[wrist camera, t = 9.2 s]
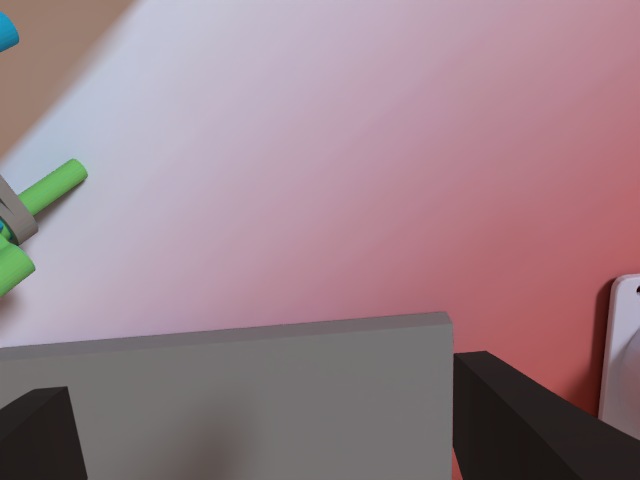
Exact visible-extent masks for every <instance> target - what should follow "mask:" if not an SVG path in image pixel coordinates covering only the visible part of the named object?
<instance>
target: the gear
mask: <svg viewBox="0 0 640 480" xmlns="http://www.w3.org/2000/svg"><path fill="white" fill-rule="evenodd" d="M18 42H19V36H18V32H17V30H16V28H15V26H14V25H13V23H12V22H11V20H10V19H9V18H8V17H7V16H6V15H5V14H4V13H2V12H0V52H2V51H4V50H6V49H8V48H10V47H12V46H14V45H16V44H18ZM87 177H88V174H87V171H86V169H85V168H84V166H83V165H82V164H81V163H80V162H79V161H77V160H76V159H71V160H69V161H68V162H67V163H65V164H64V165H62V166H61V167H59V168H58V169H56V170H55V171H53V172H52V173H50V174H49V175H47V176H46V177H44V178H43V179H41V180H40V181H39V182H37V183H36V184H34V185H33V186H31V187H30V188H28V189H27V190H25V191H24V192H22V193H21V194H19V195H18V196H17V195H16V194H15V193H14V191H13V190H12V189H11V188H10V186H9V185H8V184H7V183H6V181H5V180H4V179H3V177H2V176H1V175H0V298H1V297H2V296H3V295H4V294H6V293H7V292H8V291H10V290H11V289H12V288H13V287H15V286H16V285H17V284H18V283H20V282H21V281H22V280H24V279H25V278H26V277H27V276H29V275H30V274H31V273H33V272H34V271H35V266H34V264H33V262H32V261H31V259H30V258H29V257H28V256H27V255H26V254H25V253H24V252H23V251H22V250H21V249H20V248H19V247H18V246H19V245H20V244H22V243H23V242H24V241H26V240H27V239H28V238H30V237H31V236H33V235H34V234H35V233H37V232H38V226H37V223H36V221H35V219H34V217H33V216H34V215H35V214H37V213H38V212H40V211H41V210H42V209H44V208H45V207H47V206H48V205H49V204H51V203H52V202H53V201H55V200H56V199H58V198H59V197H60V196H62V195H63V194H65V193H66V192H67V191H69V190H70V189H72V188H73V187H74V186H76V185H77V184H79V183H80V182H81V181H83V180H84V179H86V178H87Z"/></svg>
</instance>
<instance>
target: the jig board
mask: <svg viewBox="0 0 640 480" xmlns="http://www.w3.org/2000/svg"><path fill="white" fill-rule="evenodd" d="M63 386H68V391H69V395H70V400H71V404H72V409H73V413H74V418H75V422H76V427H77V431H78V436H79V440H80V445H81V449H82V454H83V458H84V463H85V467H86V472H87V476H88V480H452V392H453V323H452V321H451V319H450V318H449V316H448V314H447V313H446V312H435V313H423V314H410V315H398V316H386V317H374V318H361V319H349V320H337V321H325V322H312V323H300V324H288V325H276V326H263V327H251V328H239V329H227V330H214V331H202V332H190V333H177V334H165V335H153V336H141V337H128V338H116V339H104V340H92V341H79V342H67V343H55V344H43V345H30V346H18V347H6V348H0V409H1V408H3V407H4V406H6V405H8V404H9V403H11V402H12V401H14V400H15V399H17V398H19V397H20V396H22V395H24V394H26V393H27V392H29V391H31V390H33V389H40V388H51V387H63Z"/></svg>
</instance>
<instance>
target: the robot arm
mask: <svg viewBox="0 0 640 480" xmlns="http://www.w3.org/2000/svg"><path fill="white" fill-rule="evenodd" d="M638 286H640V274H629V275H623V276H620V277H619V278H617V279H616V280H615V281H614V283H613V284H612V287H611V295H610V305H609V314H608V324H607V334H606V344H605V354H604V364H603V374H602V384H601V394H600V403H599V413H598V418H596V417H594V416H592V415H590V414H589V413H587V412H585V411H583V410H582V409H580V408H578V407H576V406H575V405H573V404H571V403H569V402H568V401H566V400H564V399H563V398H561V397H559V396H558V395H556V394H555V393H553V392H551V391H550V390H548V389H546V388H545V387H543V386H542V385H540V384H538V383H537V382H535V381H534V380H532V379H531V378H529V377H527V376H526V375H524V374H523V373H521V372H520V371H518V370H516V369H515V368H513V367H512V366H510V365H509V364H507V363H505V362H504V361H502V360H501V359H499V358H497V357H496V356H494V355H492V354H490V353H489V352H487V351H479V352H467V353H455V354H454V362H453V448H454V452H455V455H456V458H457V462H458V465H459V468H460V471H461V475H462V478H463V480H640V292H636V290H637V288H638ZM0 480H88V476H87V472H86V467H85V463H84V458H83V454H82V449H81V445H80V440H79V436H78V431H77V427H76V422H75V418H74V413H73V409H72V404H71V400H70V395H69V391H68V386H63V387H51V388H40V389H33V390H31V391H29V392H27V393H26V394H24V395H22V396H20V397H19V398H17V399H15V400H14V401H12V402H11V403H9V404H8V405H6V406H4V407H3V408H1V409H0Z"/></svg>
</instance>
